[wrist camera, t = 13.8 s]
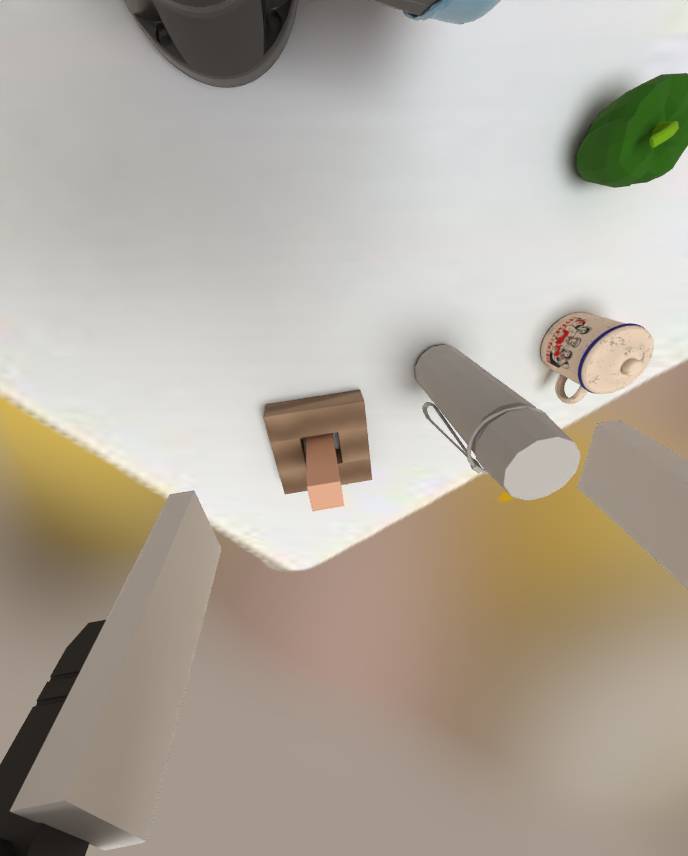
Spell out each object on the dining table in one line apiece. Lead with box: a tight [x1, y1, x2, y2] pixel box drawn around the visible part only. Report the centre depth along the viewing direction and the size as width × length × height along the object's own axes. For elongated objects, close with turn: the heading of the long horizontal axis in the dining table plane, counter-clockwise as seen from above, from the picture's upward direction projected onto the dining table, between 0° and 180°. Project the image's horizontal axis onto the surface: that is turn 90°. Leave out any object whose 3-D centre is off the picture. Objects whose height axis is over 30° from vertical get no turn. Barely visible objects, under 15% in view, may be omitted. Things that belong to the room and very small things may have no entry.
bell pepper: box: [576, 73, 688, 188], centre depth 33 cm, size 8×8×10 cm
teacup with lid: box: [541, 312, 653, 404], centre depth 45 cm, size 12×9×12 cm
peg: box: [306, 433, 344, 511], centre depth 47 cm, size 4×4×14 cm
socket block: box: [263, 390, 372, 494], centre depth 51 cm, size 14×14×4 cm
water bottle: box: [415, 344, 581, 500], centre depth 38 cm, size 9×8×25 cm
